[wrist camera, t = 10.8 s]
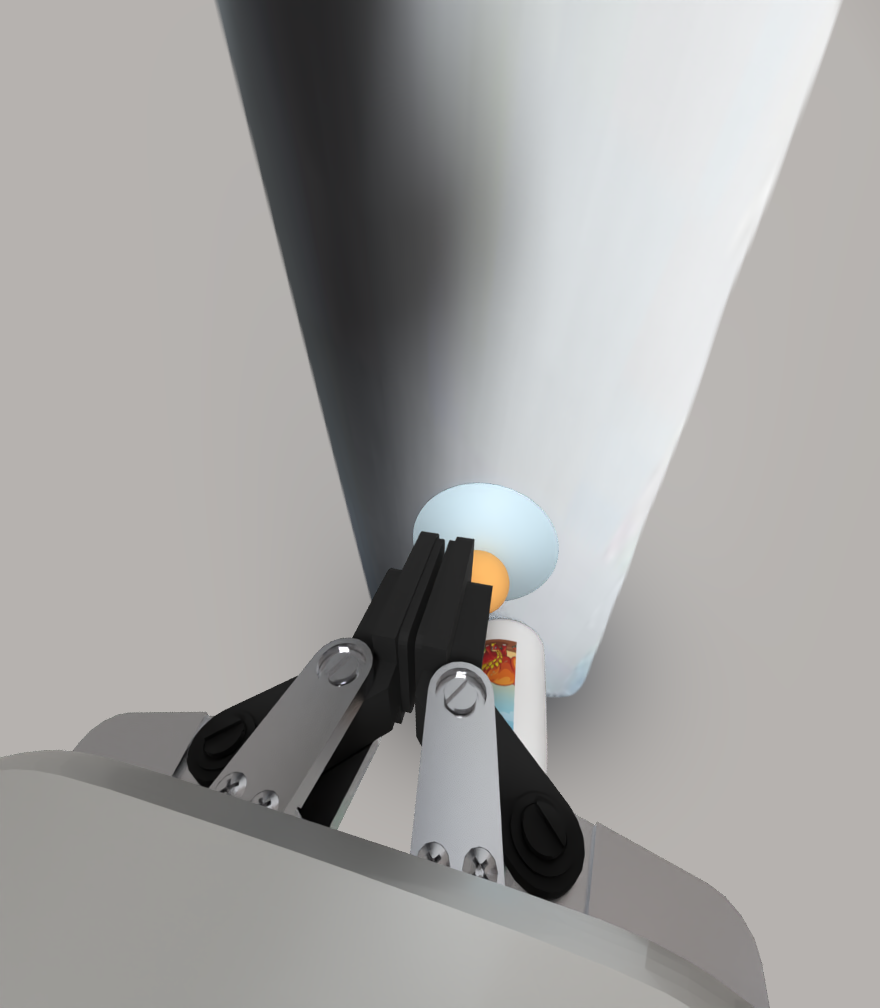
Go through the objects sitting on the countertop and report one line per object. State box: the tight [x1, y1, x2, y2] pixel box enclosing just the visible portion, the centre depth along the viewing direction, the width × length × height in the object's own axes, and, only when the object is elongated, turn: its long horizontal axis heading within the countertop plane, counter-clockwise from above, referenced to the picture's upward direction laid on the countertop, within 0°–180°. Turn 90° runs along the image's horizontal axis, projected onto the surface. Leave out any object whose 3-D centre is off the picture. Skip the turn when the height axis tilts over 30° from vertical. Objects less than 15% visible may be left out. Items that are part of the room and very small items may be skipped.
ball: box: [471, 550, 510, 613], centre depth 30 cm, size 6×6×6 cm
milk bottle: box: [482, 618, 547, 774], centre depth 29 cm, size 8×8×20 cm
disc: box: [413, 483, 559, 601], centre depth 32 cm, size 13×13×1 cm
